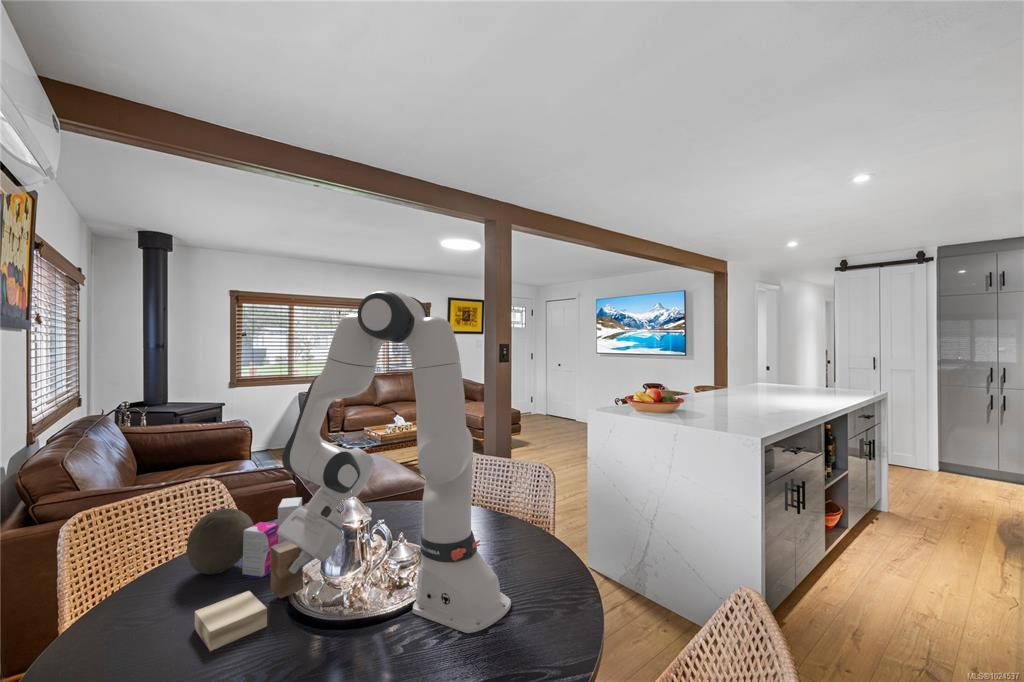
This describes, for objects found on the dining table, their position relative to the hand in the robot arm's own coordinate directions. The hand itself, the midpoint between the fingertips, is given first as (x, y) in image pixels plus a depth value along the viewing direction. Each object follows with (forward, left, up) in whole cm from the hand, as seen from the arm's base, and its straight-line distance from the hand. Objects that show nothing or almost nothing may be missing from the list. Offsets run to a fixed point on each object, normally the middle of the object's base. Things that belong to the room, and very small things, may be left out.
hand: (283, 567), depth 103 cm
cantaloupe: (+25, +5, -7) cm, 27 cm away
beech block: (-3, +12, -7) cm, 14 cm away
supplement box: (+16, -1, -7) cm, 18 cm away
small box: (+31, -15, -7) cm, 36 cm away
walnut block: (0, -1, -5) cm, 5 cm away
